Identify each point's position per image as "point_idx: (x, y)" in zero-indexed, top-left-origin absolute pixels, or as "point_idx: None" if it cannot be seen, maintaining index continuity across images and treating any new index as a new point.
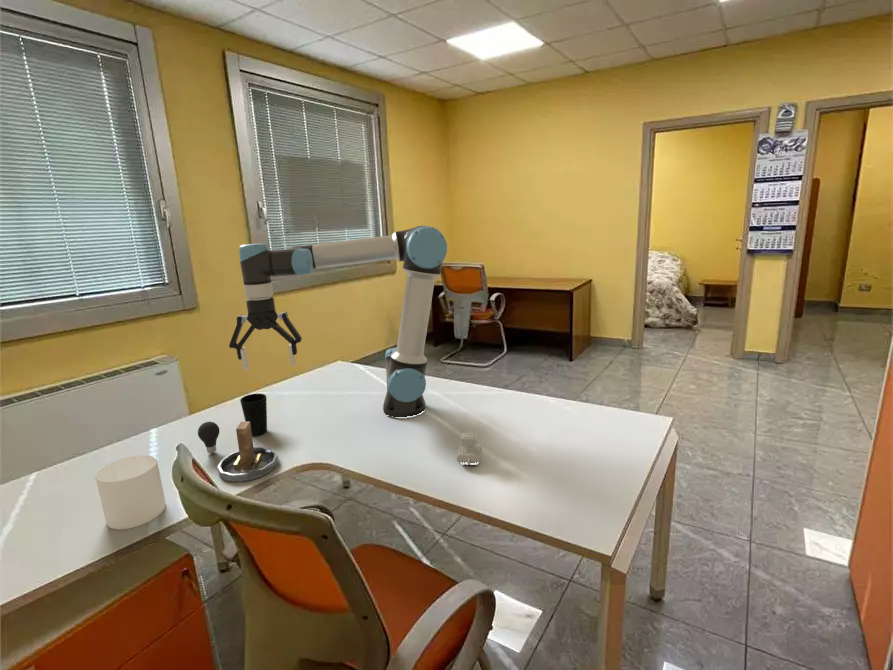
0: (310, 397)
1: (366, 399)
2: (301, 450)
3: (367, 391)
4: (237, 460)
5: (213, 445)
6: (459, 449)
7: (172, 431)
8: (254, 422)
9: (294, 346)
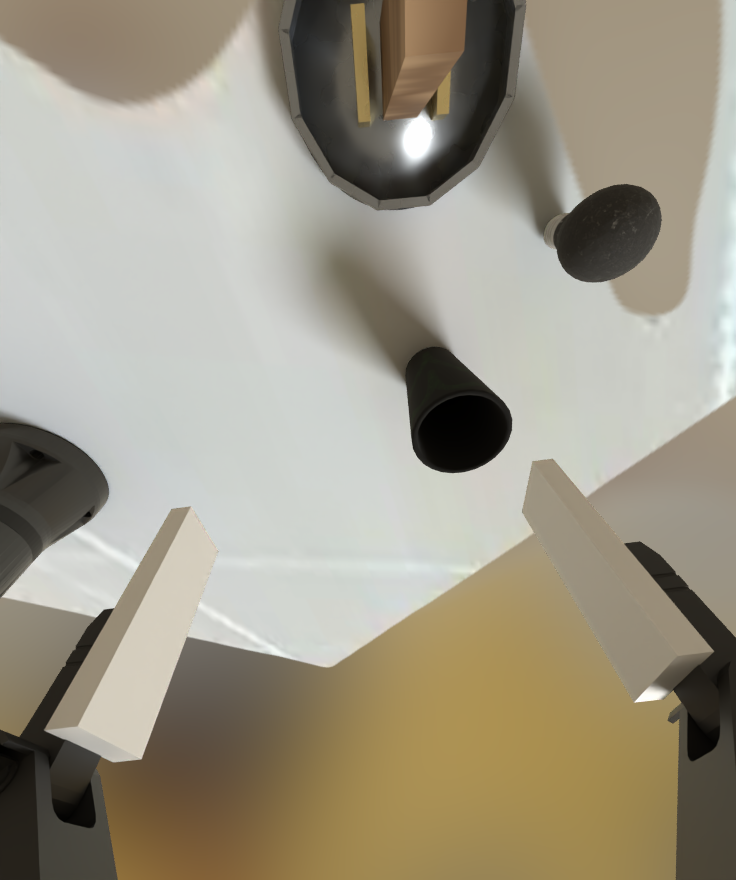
0: (343, 546)
1: None
2: (241, 222)
3: None
4: None
5: (562, 219)
6: None
7: (674, 398)
8: (440, 361)
9: (46, 713)
